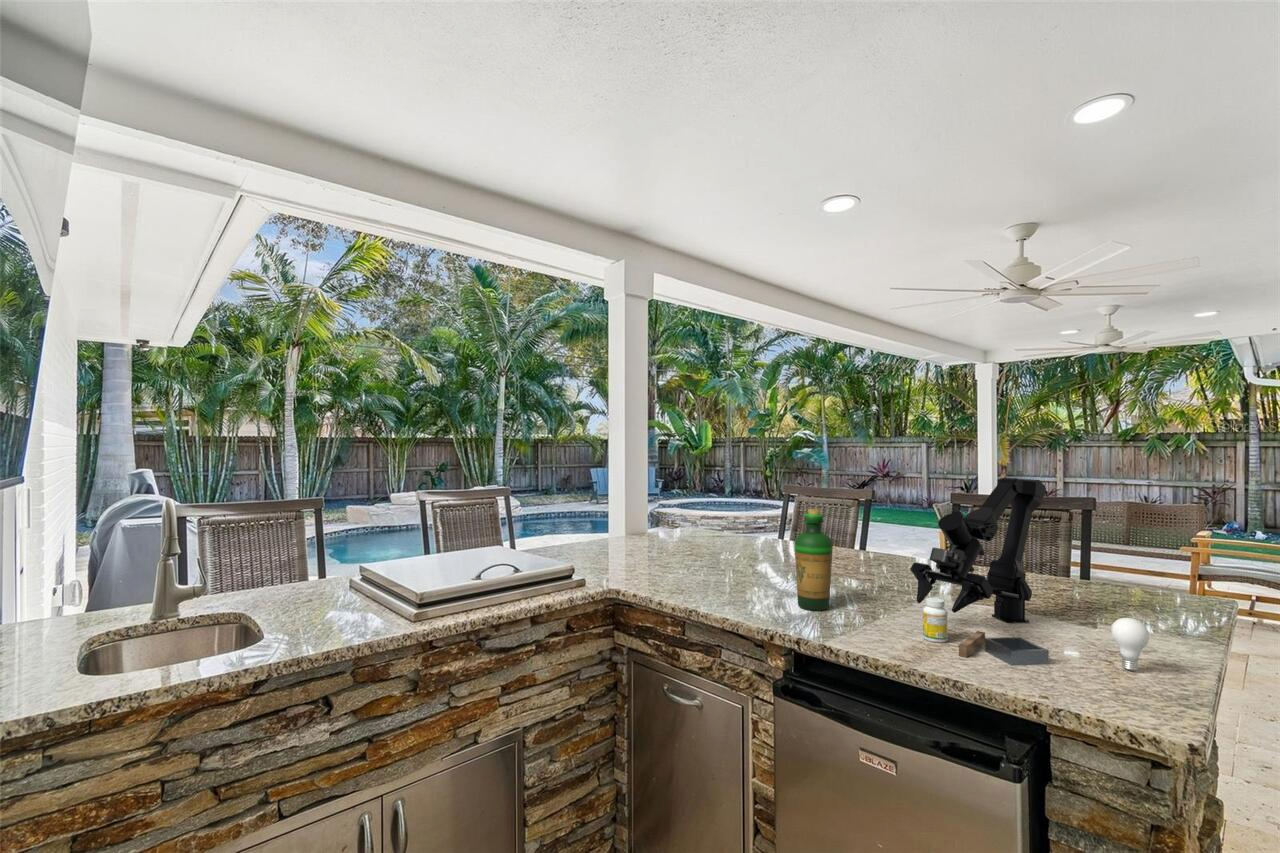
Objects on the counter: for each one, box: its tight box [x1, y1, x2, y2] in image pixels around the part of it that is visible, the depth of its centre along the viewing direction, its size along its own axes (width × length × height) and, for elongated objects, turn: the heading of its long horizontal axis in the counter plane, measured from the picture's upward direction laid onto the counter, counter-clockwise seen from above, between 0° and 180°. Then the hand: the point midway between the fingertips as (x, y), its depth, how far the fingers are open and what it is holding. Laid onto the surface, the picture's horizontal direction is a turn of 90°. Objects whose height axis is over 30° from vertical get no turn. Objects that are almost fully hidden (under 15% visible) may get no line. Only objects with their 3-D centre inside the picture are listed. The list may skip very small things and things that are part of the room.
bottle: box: [794, 508, 834, 612], centre depth 175 cm, size 11×11×28 cm
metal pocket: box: [984, 636, 1050, 666], centre depth 136 cm, size 9×9×3 cm
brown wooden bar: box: [958, 630, 986, 659], centre depth 141 cm, size 14×2×2 cm, turn 136°
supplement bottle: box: [922, 597, 948, 644], centre depth 148 cm, size 5×5×10 cm
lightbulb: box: [1110, 617, 1150, 672], centre depth 129 cm, size 6×6×11 cm
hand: (935, 606), depth 148 cm, fingers open, 9 cm apart
